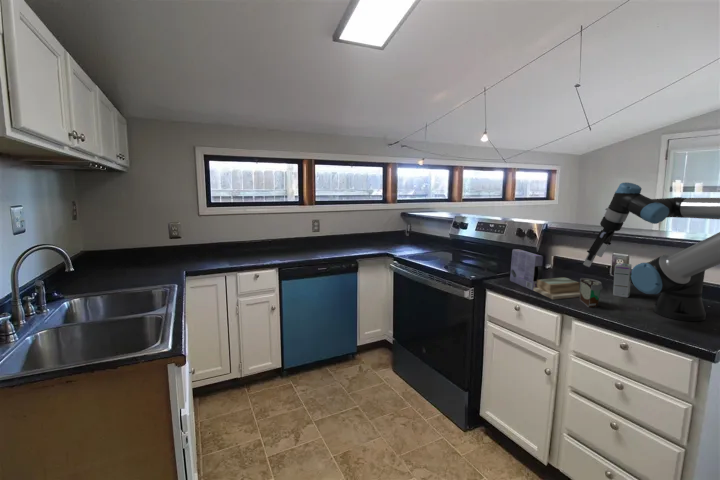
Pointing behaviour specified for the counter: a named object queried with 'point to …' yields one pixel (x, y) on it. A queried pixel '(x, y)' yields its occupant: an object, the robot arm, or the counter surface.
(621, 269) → the syrup box
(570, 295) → the base
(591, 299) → the food container
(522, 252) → the cake pan box
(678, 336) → the counter surface
